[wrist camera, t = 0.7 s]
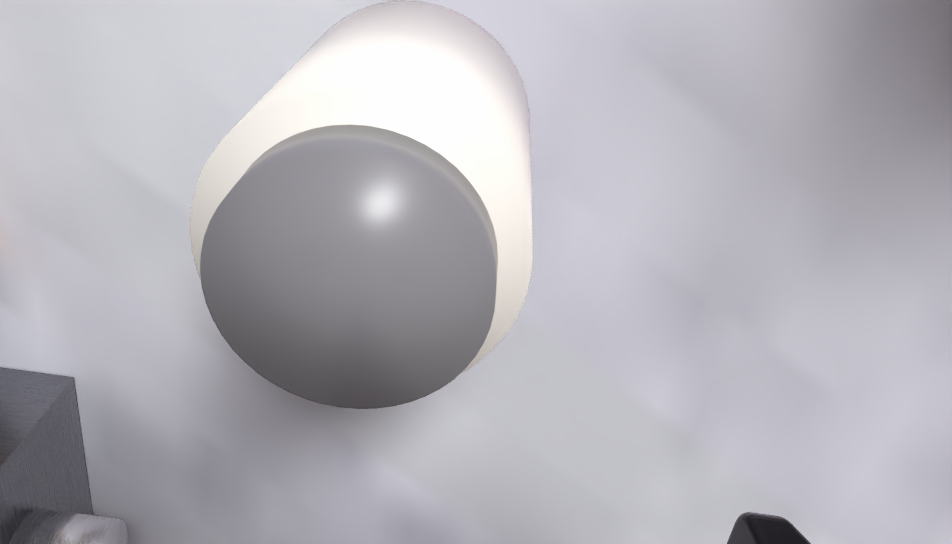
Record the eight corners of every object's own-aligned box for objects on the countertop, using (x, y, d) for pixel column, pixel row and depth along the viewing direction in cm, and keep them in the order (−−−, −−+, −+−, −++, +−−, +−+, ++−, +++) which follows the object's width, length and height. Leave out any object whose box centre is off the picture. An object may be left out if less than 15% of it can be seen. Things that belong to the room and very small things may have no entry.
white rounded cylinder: (510, 244, 18) (503, 455, 12) (291, 213, 18) (172, 410, 12) (548, 20, 16) (563, 142, 10) (295, -17, 16) (150, 83, 10)
